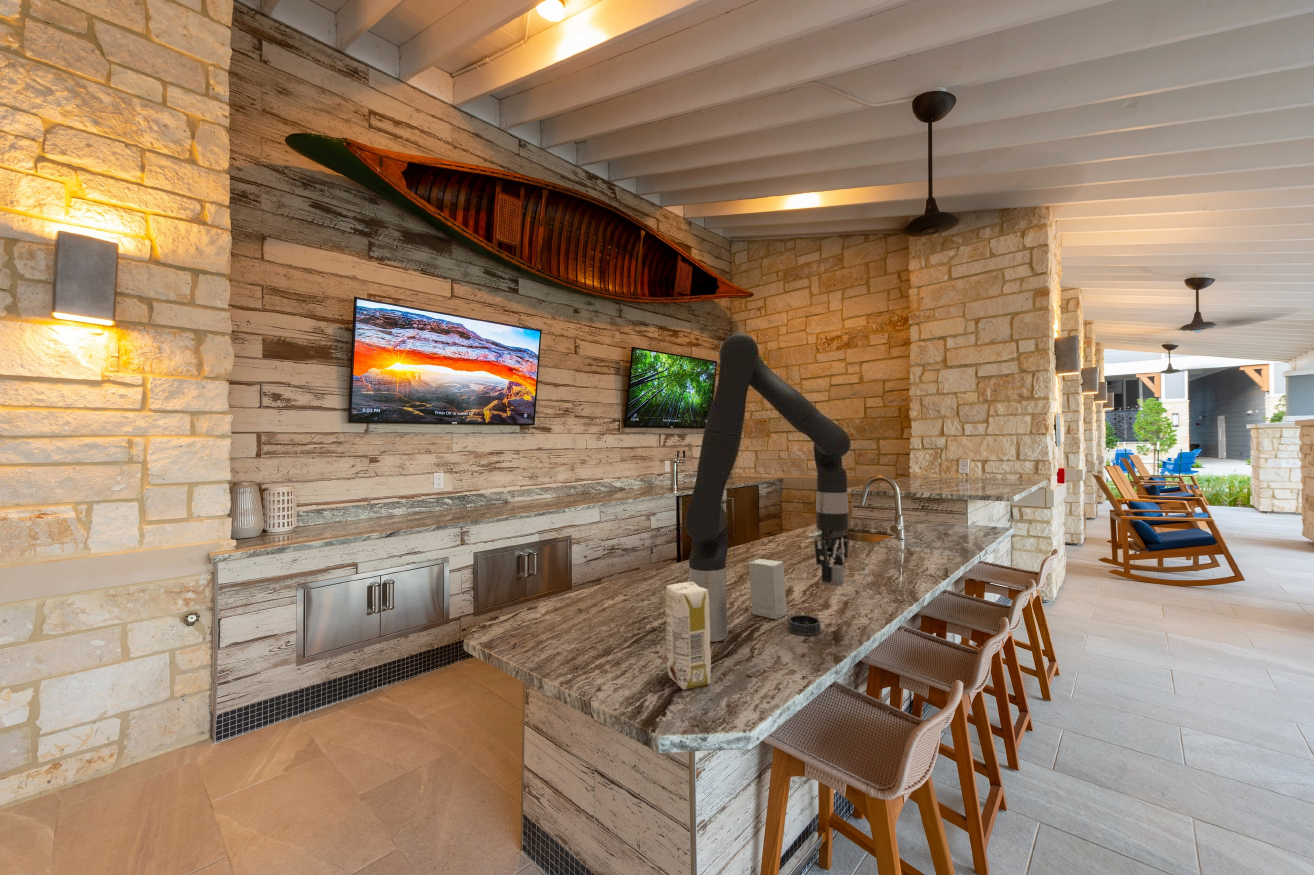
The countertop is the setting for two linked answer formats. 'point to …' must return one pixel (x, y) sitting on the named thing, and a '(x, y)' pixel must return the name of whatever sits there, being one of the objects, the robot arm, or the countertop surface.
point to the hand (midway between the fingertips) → (832, 579)
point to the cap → (836, 575)
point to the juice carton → (688, 634)
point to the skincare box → (767, 588)
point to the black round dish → (804, 625)
